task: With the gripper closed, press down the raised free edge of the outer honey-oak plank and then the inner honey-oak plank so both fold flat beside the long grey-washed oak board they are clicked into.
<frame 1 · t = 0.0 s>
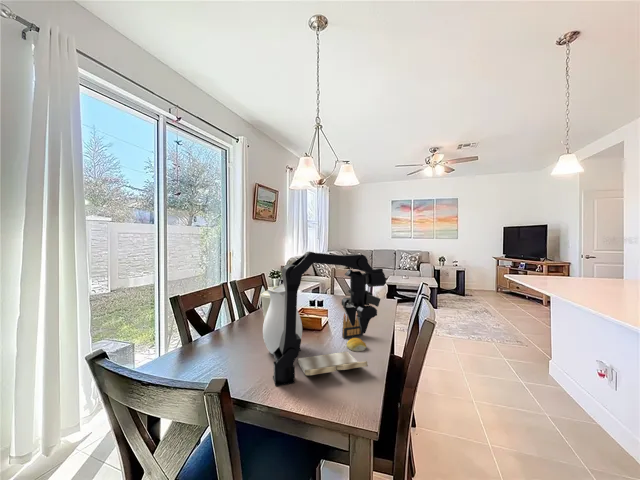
hand: (358, 329, 106), 15 cm above the table, tool pointing down, fingers open, 9 cm apart
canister: (276, 322, 163), on the table
pitcher: (285, 348, 127), on the table
installed board: (327, 363, 110), on the table
ammunition clip: (352, 337, 140), on the table
plank outer: (351, 365, 103), point 2 cm above the table, hinge at 25.0°
bread roll: (356, 348, 126), on the table
plank inner: (320, 370, 100), point 2 cm above the table, hinge at 25.0°
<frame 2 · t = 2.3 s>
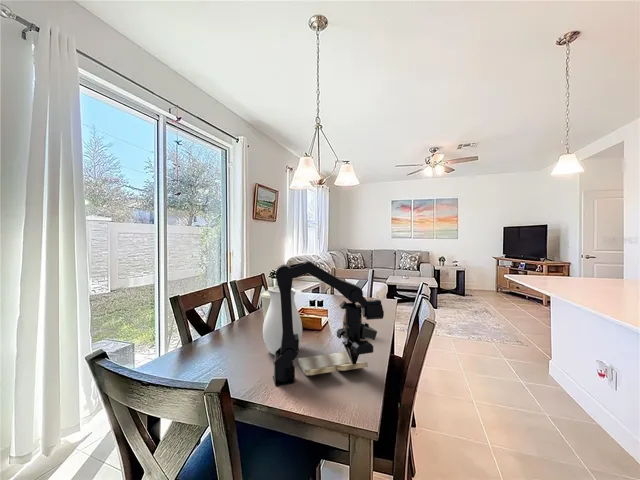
hand: (354, 363, 101), 4 cm above the table, tool pointing down, fingers closed
plank outer: (351, 366, 103), point 2 cm above the table, hinge at 23.1°, touching gripper
everything else where it was.
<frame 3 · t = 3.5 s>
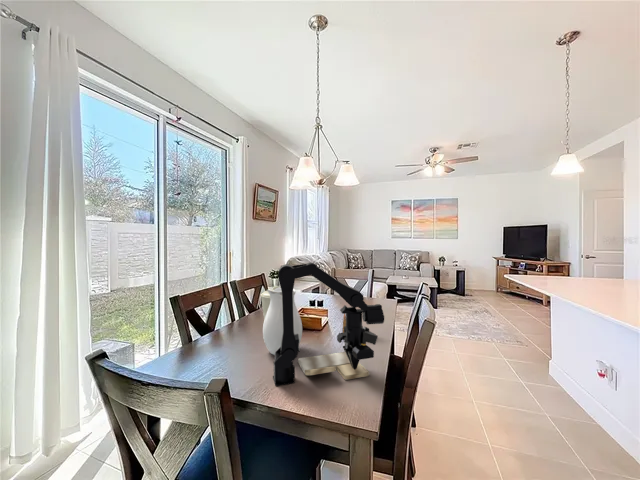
hand: (354, 368, 101), 2 cm above the table, tool pointing down, fingers closed
plank outer: (352, 370, 103), point 1 cm above the table, hinge at 1.2°
everything else where it was.
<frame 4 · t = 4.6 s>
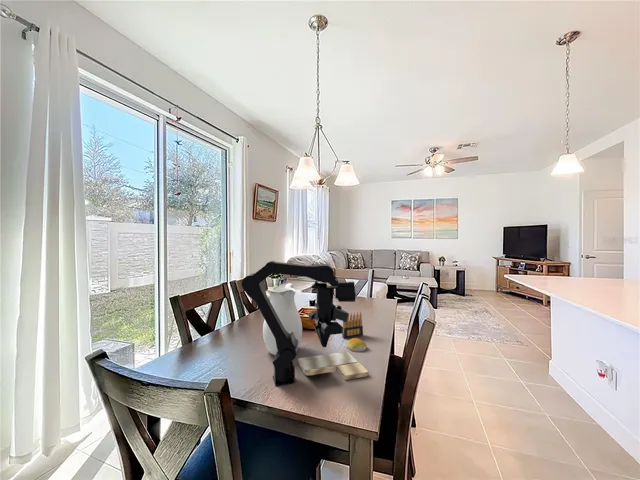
hand: (324, 346, 98), 12 cm above the table, tool pointing down, fingers closed
nothing on the table moved.
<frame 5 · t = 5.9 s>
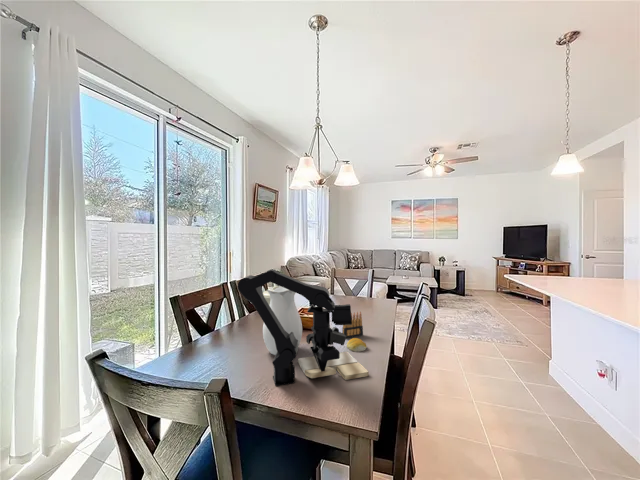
hand: (322, 370, 97), 4 cm above the table, tool pointing down, fingers closed
plank inner: (320, 372, 99), point 2 cm above the table, hinge at 18.3°, touching gripper
everything else where it was.
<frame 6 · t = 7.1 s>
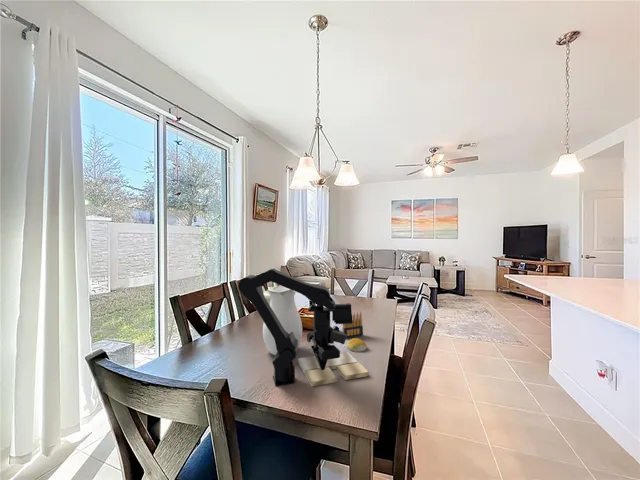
hand: (322, 369, 97), 4 cm above the table, tool pointing down, fingers closed
plank inner: (320, 376, 99), point 1 cm above the table, hinge at -0.1°
everything else where it was.
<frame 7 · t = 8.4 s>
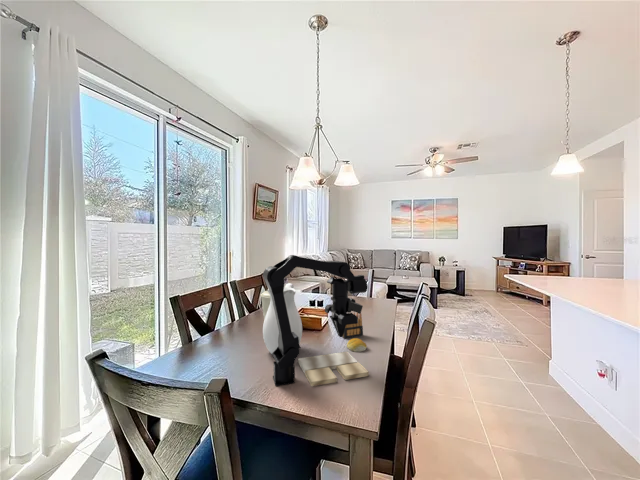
hand: (340, 336, 106), 12 cm above the table, tool pointing down, fingers closed
nothing on the table moved.
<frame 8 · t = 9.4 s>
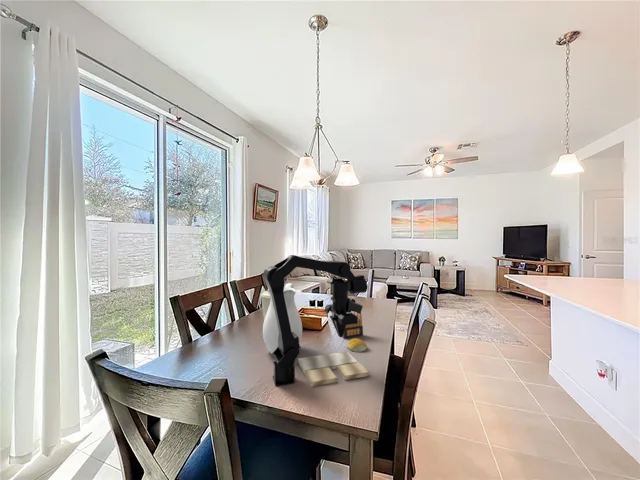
hand: (340, 336, 106), 12 cm above the table, tool pointing down, fingers closed
nothing on the table moved.
at the end: plank outer at +1° (first picture: +25°); plank inner at +0° (first picture: +25°) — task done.
